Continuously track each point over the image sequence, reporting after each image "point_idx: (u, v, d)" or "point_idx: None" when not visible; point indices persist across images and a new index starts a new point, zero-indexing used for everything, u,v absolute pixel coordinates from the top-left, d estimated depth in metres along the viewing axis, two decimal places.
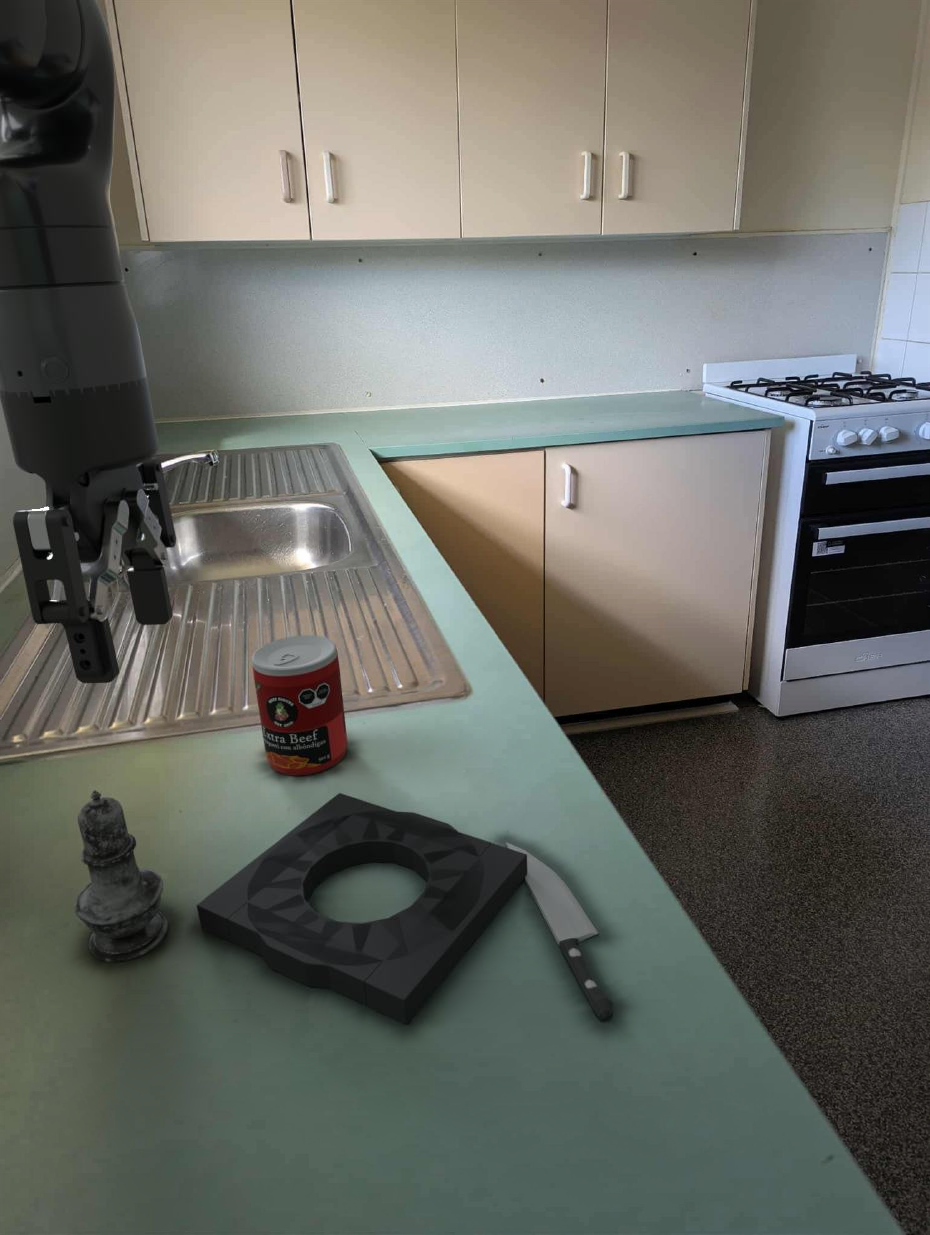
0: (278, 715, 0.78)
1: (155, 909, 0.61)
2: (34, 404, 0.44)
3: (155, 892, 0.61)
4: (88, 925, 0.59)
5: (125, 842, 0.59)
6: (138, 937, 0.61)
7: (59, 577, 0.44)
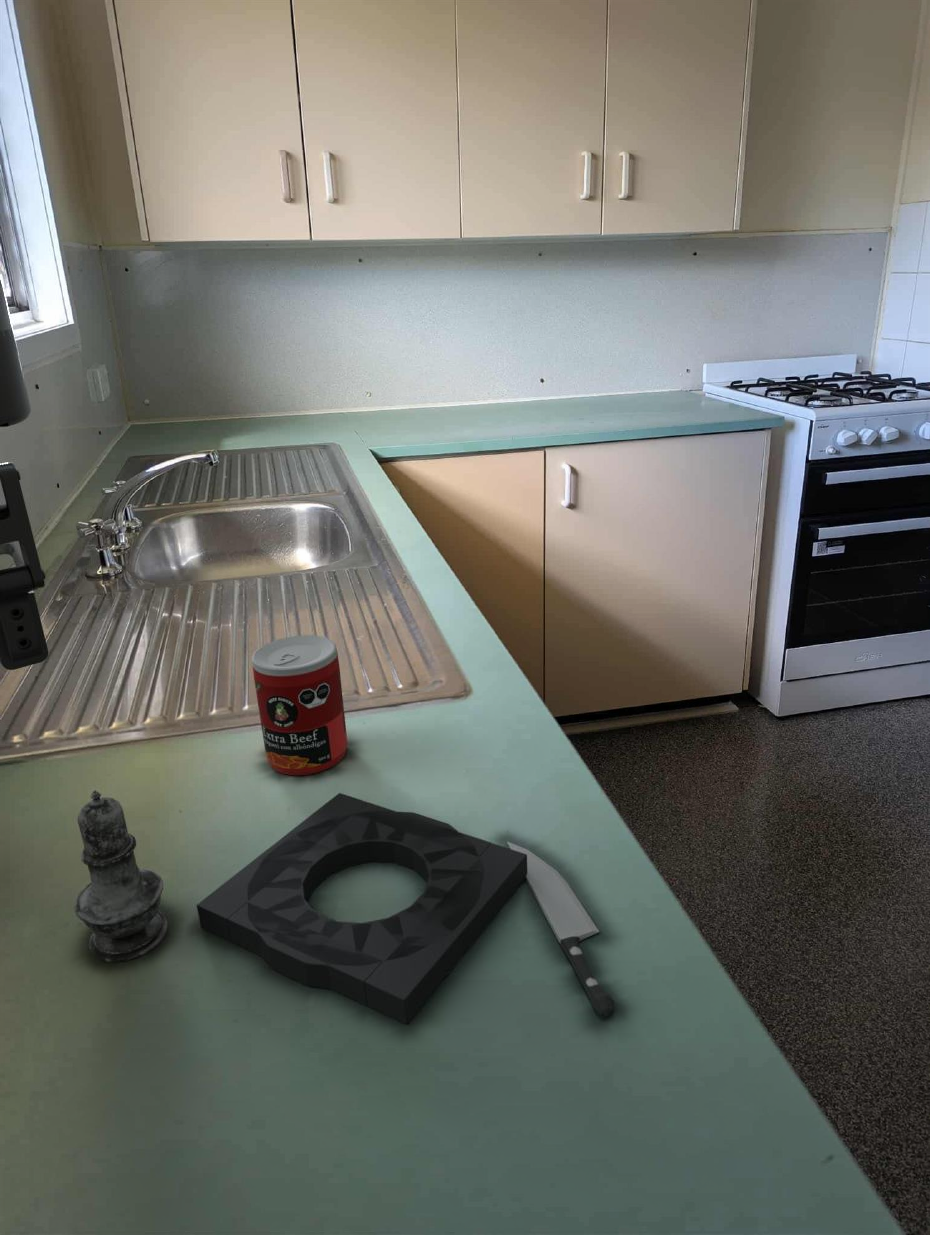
0: (278, 715, 0.78)
1: (155, 909, 0.61)
2: None
3: (155, 892, 0.61)
4: (88, 925, 0.59)
5: (124, 842, 0.59)
6: (138, 937, 0.61)
7: (19, 537, 0.40)
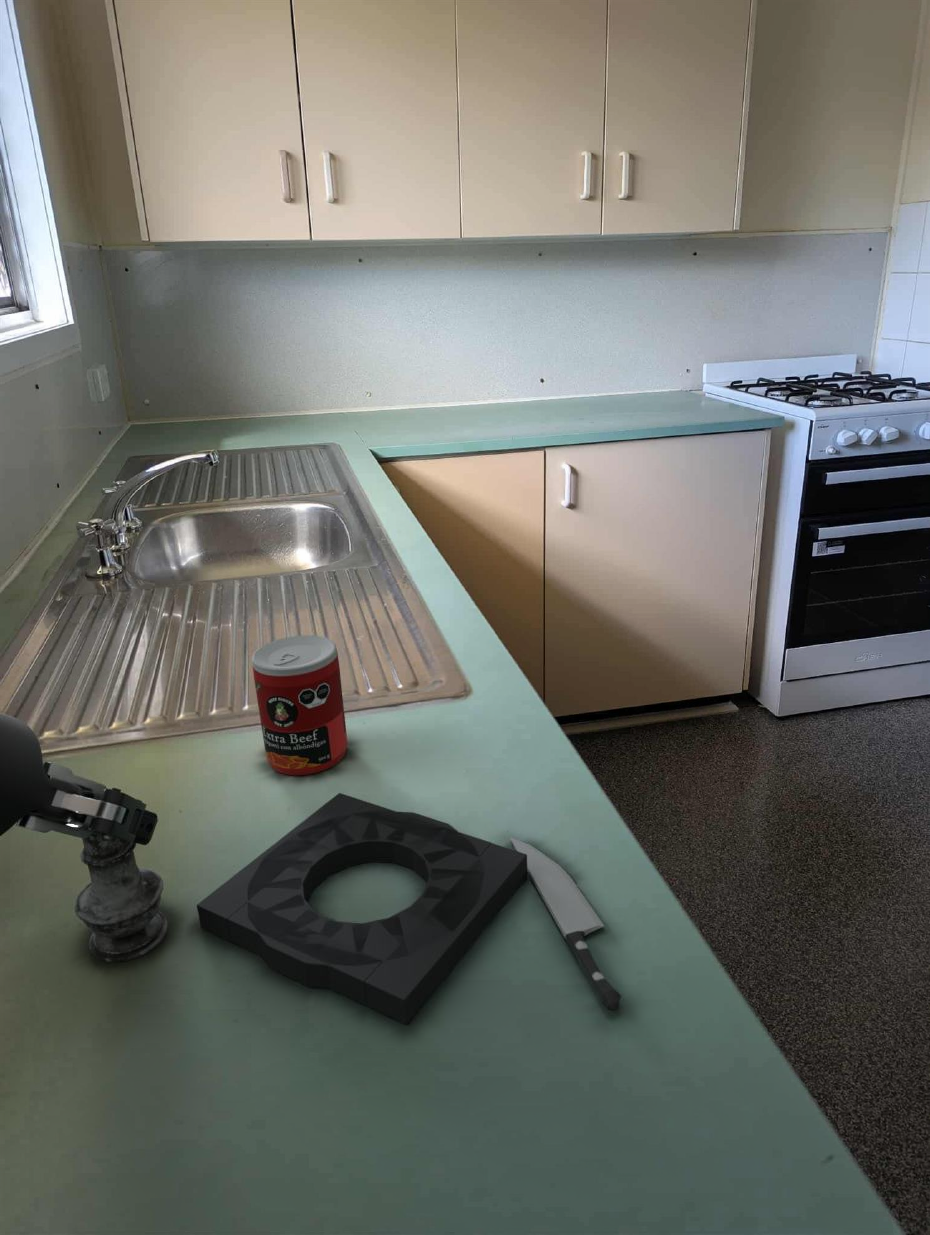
0: (278, 715, 0.78)
1: (155, 909, 0.61)
2: None
3: (155, 892, 0.61)
4: (88, 925, 0.59)
5: None
6: (138, 936, 0.61)
7: (134, 809, 0.53)
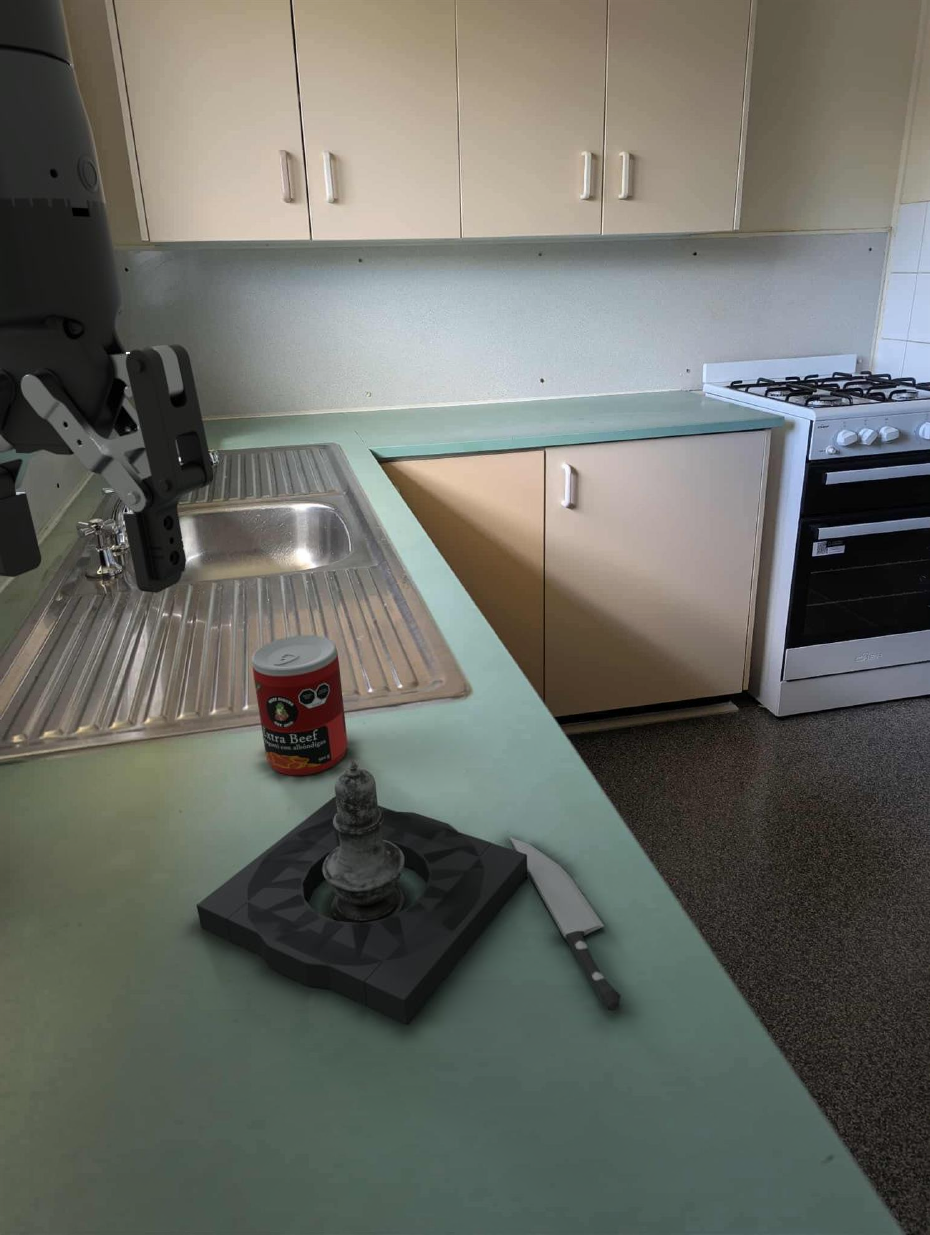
0: (278, 715, 0.78)
1: (399, 877, 0.63)
2: (73, 217, 0.34)
3: (399, 861, 0.63)
4: (340, 892, 0.61)
5: (376, 811, 0.61)
6: (381, 904, 0.63)
7: (194, 427, 0.36)
